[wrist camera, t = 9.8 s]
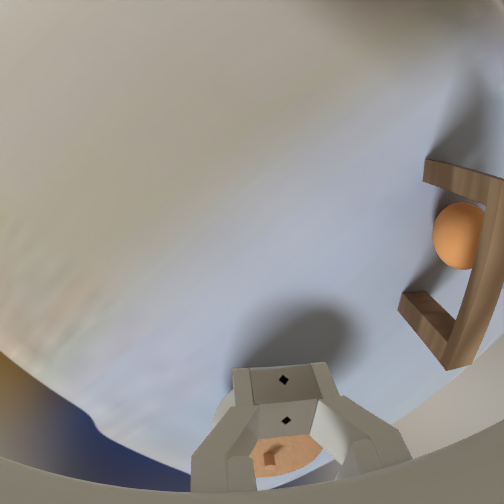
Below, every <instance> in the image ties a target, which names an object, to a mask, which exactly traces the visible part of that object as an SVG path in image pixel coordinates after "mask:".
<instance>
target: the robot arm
mask: <svg viewBox="0 0 504 504" xmlns="http://www.w3.org/2000/svg"><path fill="white" fill-rule="evenodd" d="M233 400H234V406H233V407H230V408H229V409H228V411H227V412H226V413H225V415H224V416H223V417H222V418H221V420H220V421H219V422H218V424H217V425H216V426H215V427H214V429H213V430H212V431H211V432H210V434H209V435H208V436H207V437H206V439H205V440H204V441H203V442H202V444H201V445H200V446H199V447H198V449H197V450H196V451H195V452H194V454H193V455H192V460H191V493H186V492H166V491H152V490H142V489H132V488H125V487H118V486H111V485H105V484H99V483H94V482H89V481H84V480H79V479H74V478H69V477H66V476H62V475H58V474H54V473H50V472H46V471H43V470H39V469H36V468H33V467H29V466H26V465H23V464H20V463H17V462H14V461H11V460H8V459H5V458H3V457H0V504H504V420H502V421H500V422H498V423H496V424H495V425H492V426H490V427H489V428H486V429H484V430H482V431H480V432H479V433H476V434H474V435H472V436H470V437H468V438H466V439H463V440H461V441H458V442H456V443H454V444H451V445H449V446H447V447H444V448H442V449H439V450H437V451H434V452H432V453H429V454H426V455H423V456H421V457H418V458H415V459H413V458H412V456H411V455H410V452H409V450H408V448H407V447H406V444H405V442H404V440H403V438H402V436H401V434H400V432H399V430H398V429H396V428H394V427H393V426H391V425H389V424H388V423H386V422H385V421H383V420H381V419H380V418H378V417H377V416H375V415H374V414H372V413H370V412H369V411H367V410H366V409H364V408H363V407H361V406H359V405H358V404H356V403H355V402H353V401H352V400H350V399H349V398H347V397H346V396H340V395H339V393H338V390H337V388H336V385H335V383H334V381H333V378H332V376H331V373H330V371H329V369H328V366H327V364H326V363H325V362H316V363H309V364H298V365H288V366H277V367H251V368H233ZM306 434H310V436H311V437H312V438H313V439H314V440H315V441H316V442H317V443H318V444H319V445H320V446H322V447H323V448H324V449H325V450H326V451H327V452H328V453H329V454H330V455H331V456H332V457H333V458H335V459H336V460H337V461H338V462H339V463H340V464H341V465H342V466H341V468H340V470H339V472H338V474H337V476H336V478H335V480H332V481H328V482H322V483H316V484H310V485H304V486H298V487H290V488H282V489H273V490H262V491H257V486H256V479H255V472H254V465H253V459H252V458H250V457H249V456H250V454H251V452H252V450H253V449H254V447H255V445H256V443H257V441H258V439H268V438H276V437H285V436H296V435H306Z"/></svg>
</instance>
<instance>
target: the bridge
mask: <svg viewBox="0 0 504 504" xmlns="http://www.w3.org/2000/svg"><path fill="white" fill-rule="evenodd" d="M423 181H424V182H426V183H429V184H432V185H435V186H437V187H440V188H443V189H446V190H448V191H451V192H453V193H456V194H459V195H461V196H464V197H466V198H469V199H471V200H474V201H476V202H478V203H481V204H483V205H485V206H486V210H485V215H484V220H483V225H482V230H481V235H480V239H479V244H478V248H477V252H476V256H475V260H474V264H473V267H472V271H471V275H470V278H469V282H468V285H467V288H466V292H465V295H464V298H463V301H462V304H461V307H460V310H459V313H458V316H457V319H456V320H455V319H454V318H453V317H452V316H451V315H450V314H449V313H448V312H447V311H446V310H445V309H443V308H442V307H441V306H440V305H439V304H438V303H437V302H436V301H435V300H434V299H433V298H432V297H431V296H430V295H429V294H428V293H427V292H426V291H423V292H409V293H402V295H401V299H400V303H399V307H398V311H399V313H400V314H401V315H402V316H403V317H404V319H405V320H406V321H407V322H408V323H409V325H410V326H411V327H412V328H413V330H414V331H415V332H416V333H417V334H418V336H419V337H420V338H421V339H422V341H423V342H424V343H425V344H426V346H427V347H428V348H429V349H430V351H431V352H432V353H433V354H434V356H435V357H436V358H437V360H438V361H439V362H440V363H441V365H442V366H443V367H444V369H445V370H446V371H448V370H452V369H456V368H460V367H463V366H467V365H471V364H472V362H473V360H474V357H475V355H476V353H477V351H478V349H479V346H480V344H481V342H482V339H483V337H484V335H485V332H486V330H487V327H488V325H489V322H490V320H491V317H492V315H493V312H494V309H495V306H496V304H497V301H498V298H499V295H500V292H501V289H502V286H503V283H504V179H502V178H499V177H496V176H493V175H489V174H486V173H483V172H479V171H476V170H472V169H469V168H465V167H461V166H458V165H454V164H450V163H445V162H439V161H433V160H427V159H425V166H424V175H423Z"/></svg>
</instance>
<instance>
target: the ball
mask: <svg viewBox="0 0 504 504" xmlns="http://www.w3.org/2000/svg"><path fill="white" fill-rule="evenodd" d="M484 215H485V213H484V211H483V210H481V209H480V208H479V207H478V206H476V205H474V204H471V203H468V202H457V203H453V204H451V205H449V206H447V207H446V208H444V209H443V210H442V211H441V212H440V214H439V215H438V217H437V218H436V220H435V223H434V226H433V232H432V238H433V244H434V248H435V250H436V252H437V254H438V256H439V257H440V258H441V260H442V261H443V262H444V263H446V264H447V265H449V266H450V267H453V268H455V269H461V270H466V269H471V268H472V267H473V264H474V260H475V256H476V252H477V248H478V244H479V239H480V235H481V230H482V225H483V220H484Z"/></svg>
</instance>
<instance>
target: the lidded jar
mask: <svg viewBox="0 0 504 504" xmlns="http://www.w3.org/2000/svg"><path fill="white" fill-rule="evenodd" d="M233 406H234V400H233V389H232V390H231V391H230V392H229V393H228V394H227V395H226V396H225V397H224V398H223V399H222V400H221V402H220V404H219V406H218V407H217V409H216V412H215V415H214V418H213V423H212V430H213V429H214V427H215V426H216V425H217V424H218V422H219V421H220V420H221V418H222V417H223V416H224V415H225V413H226V412H227V411H228V409H229V408H230V407H233ZM212 430H211V431H212ZM322 449H323V447H322V446H320V445H319V444H318V443H317V442H316V441H315V440H314V439H313V438H312V437H311V436H310V434H306V435H296V436H285V437H276V438H268V439H258V441H257V443H256V445H255V447H254V449H253V450H252V452H251V454H250V456H249V457H250V458H252V459H253V465H254V472H255V477H257V478H258V477H272V476H278V475H282V474H286V473H289V472H292V471H295V470H297V469H300V468H302V467H304V466H305V465H307V464H309V463H310V462H311V461H313V460H314V459H315V458H316V457H317V456H318V455H319V454H320V452H321V451H322Z"/></svg>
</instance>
